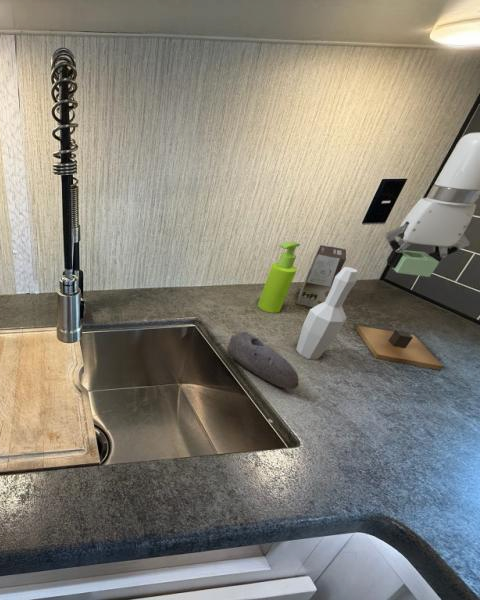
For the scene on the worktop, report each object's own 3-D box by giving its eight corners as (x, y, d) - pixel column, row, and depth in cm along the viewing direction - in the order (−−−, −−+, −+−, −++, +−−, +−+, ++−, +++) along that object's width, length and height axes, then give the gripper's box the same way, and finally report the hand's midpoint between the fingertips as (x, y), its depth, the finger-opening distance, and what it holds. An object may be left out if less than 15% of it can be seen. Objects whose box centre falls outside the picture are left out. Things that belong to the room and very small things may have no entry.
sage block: (415, 266, 81) (424, 252, 79) (429, 277, 76) (439, 262, 74) (385, 262, 83) (393, 248, 81) (397, 272, 77) (406, 258, 75)
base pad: (411, 338, 79) (421, 324, 77) (440, 370, 69) (452, 355, 67) (355, 329, 82) (363, 315, 80) (375, 358, 73) (385, 343, 70)
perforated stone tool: (299, 391, 64) (313, 366, 60) (284, 401, 62) (297, 375, 58) (236, 349, 75) (244, 326, 71) (221, 356, 73) (229, 333, 69)
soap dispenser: (250, 305, 92) (272, 241, 82) (267, 300, 94) (290, 237, 84) (267, 315, 88) (293, 249, 77) (284, 310, 90) (312, 245, 79)
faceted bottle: (306, 342, 77) (346, 261, 66) (330, 359, 72) (378, 274, 61) (286, 347, 76) (323, 265, 64) (309, 364, 71) (354, 278, 59)
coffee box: (321, 310, 90) (347, 259, 82) (296, 303, 93) (318, 253, 85) (323, 297, 96) (346, 249, 88) (299, 291, 99) (319, 244, 91)
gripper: (491, 195, 70) (442, 267, 79) (396, 188, 75) (361, 257, 84) (517, 202, 64) (461, 280, 73) (412, 195, 69) (372, 268, 78)
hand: (408, 267), depth 79 cm, fingers closed on sage block, 6 cm apart
